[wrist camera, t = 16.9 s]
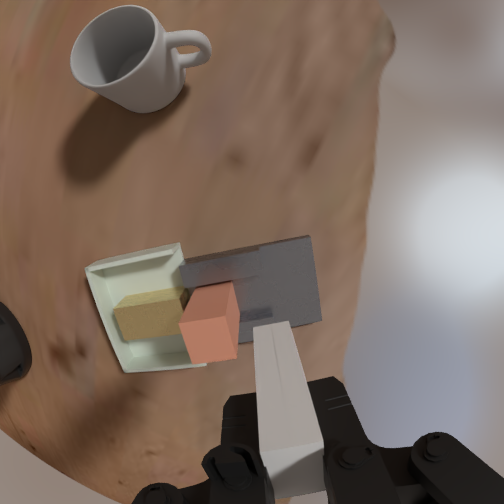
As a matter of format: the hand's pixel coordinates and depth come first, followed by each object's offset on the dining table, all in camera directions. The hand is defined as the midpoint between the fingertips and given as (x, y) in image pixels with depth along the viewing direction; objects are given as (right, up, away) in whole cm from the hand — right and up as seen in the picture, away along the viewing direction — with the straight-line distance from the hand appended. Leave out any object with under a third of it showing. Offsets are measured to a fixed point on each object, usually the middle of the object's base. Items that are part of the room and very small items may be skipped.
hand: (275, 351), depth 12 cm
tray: (-13, -2, +22) cm, 26 cm away
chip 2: (-10, -2, +21) cm, 24 cm away
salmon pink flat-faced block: (-5, -1, +21) cm, 21 cm away
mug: (-11, +24, +16) cm, 31 cm away
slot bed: (-1, 0, +22) cm, 22 cm away
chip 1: (-14, -3, +22) cm, 26 cm away
